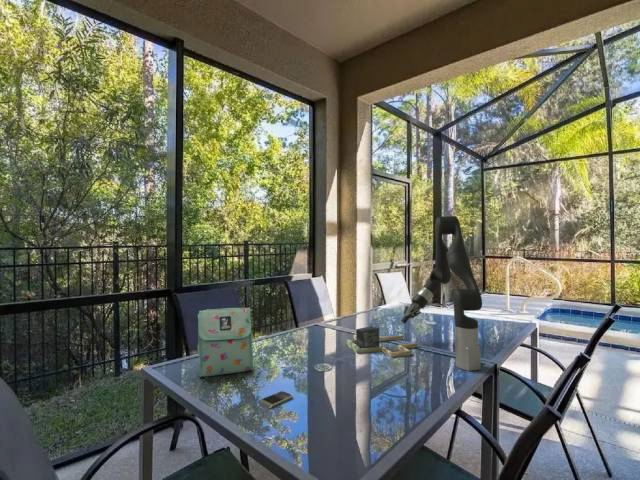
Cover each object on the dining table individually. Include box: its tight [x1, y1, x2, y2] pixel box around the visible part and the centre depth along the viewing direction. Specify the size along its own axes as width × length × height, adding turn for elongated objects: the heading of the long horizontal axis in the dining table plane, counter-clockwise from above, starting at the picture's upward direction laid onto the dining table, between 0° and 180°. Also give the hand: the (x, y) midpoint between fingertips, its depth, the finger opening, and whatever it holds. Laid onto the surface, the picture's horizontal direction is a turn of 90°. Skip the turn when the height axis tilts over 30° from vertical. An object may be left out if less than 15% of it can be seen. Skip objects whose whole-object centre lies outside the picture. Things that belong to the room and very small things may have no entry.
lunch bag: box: [197, 307, 254, 378], centre depth 149 cm, size 23×16×27 cm
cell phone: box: [258, 391, 294, 410], centre depth 118 cm, size 6×11×1 cm, turn 137°
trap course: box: [345, 333, 419, 358], centre depth 181 cm, size 37×33×3 cm
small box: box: [355, 325, 380, 349], centre depth 176 cm, size 11×6×10 cm, turn 123°
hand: (402, 322), depth 183 cm, fingers closed
